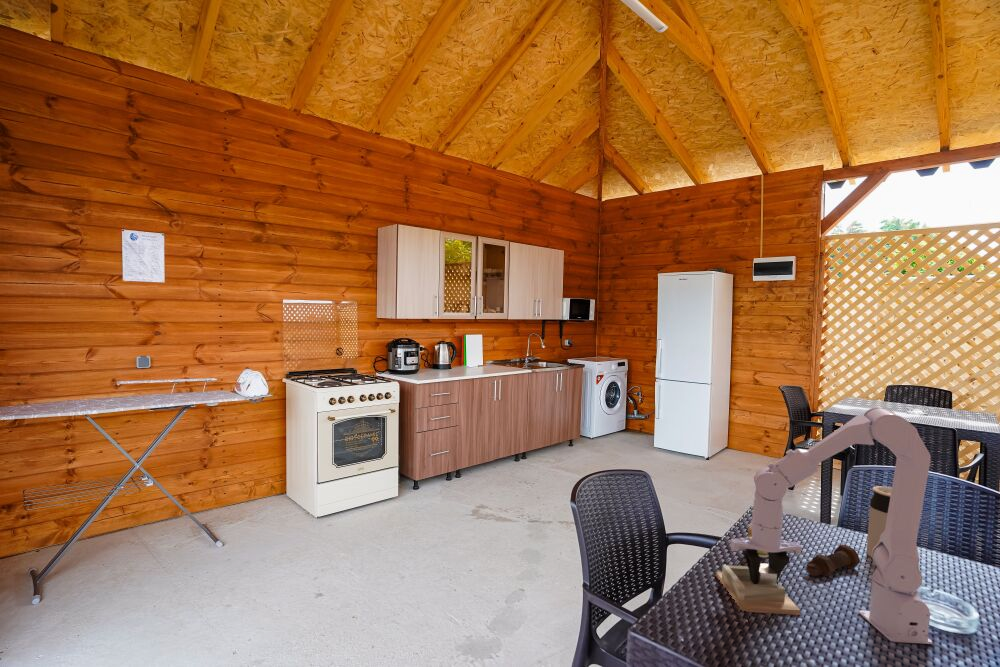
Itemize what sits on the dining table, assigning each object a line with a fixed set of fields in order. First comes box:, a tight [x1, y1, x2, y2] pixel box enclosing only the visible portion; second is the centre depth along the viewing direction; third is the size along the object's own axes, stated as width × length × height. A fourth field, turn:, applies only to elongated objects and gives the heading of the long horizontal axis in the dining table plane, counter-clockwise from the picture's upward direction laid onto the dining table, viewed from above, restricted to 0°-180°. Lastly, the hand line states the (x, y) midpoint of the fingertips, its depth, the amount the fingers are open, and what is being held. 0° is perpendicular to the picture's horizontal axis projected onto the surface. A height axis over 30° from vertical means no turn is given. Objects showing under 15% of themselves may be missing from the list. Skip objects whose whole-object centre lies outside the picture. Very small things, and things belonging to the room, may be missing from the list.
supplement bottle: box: [747, 515, 769, 559], centre depth 131 cm, size 5×5×10 cm
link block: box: [750, 562, 778, 585], centre depth 112 cm, size 4×4×5 cm
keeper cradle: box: [715, 564, 802, 616], centre depth 112 cm, size 14×12×4 cm
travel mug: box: [866, 485, 892, 558], centre depth 131 cm, size 8×8×18 cm
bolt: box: [805, 544, 861, 577], centre depth 123 cm, size 6×5×15 cm
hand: (763, 582), depth 112 cm, fingers closed on link block, 3 cm apart
